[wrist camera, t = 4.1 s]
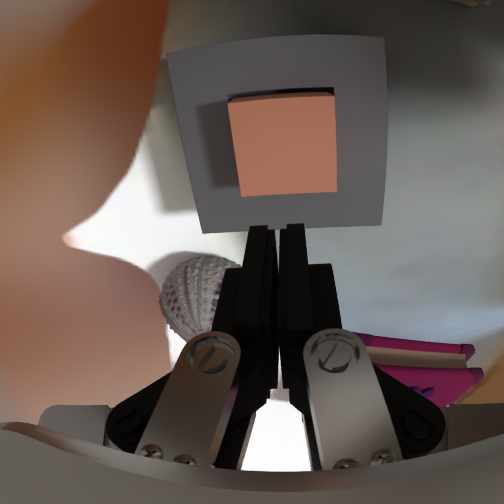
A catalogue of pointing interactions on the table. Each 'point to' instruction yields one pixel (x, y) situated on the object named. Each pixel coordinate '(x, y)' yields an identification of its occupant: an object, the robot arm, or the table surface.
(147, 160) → the table surface
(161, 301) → the sea urchin shell
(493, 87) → the table surface
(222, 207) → the button box
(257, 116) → the button
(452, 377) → the book
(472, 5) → the fossil rock
